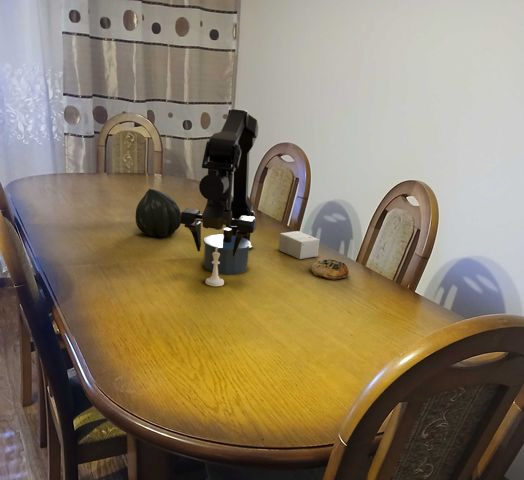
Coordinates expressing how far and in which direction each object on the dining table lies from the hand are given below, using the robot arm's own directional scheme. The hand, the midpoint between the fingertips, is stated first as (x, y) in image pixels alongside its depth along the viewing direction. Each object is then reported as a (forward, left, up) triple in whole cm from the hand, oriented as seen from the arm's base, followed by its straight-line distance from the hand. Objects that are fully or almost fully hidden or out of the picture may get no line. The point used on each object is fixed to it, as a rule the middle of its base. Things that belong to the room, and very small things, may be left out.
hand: (216, 253), depth 145 cm
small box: (-40, -17, -5) cm, 43 cm away
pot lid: (-10, -10, -1) cm, 14 cm away
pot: (-10, -10, -8) cm, 16 cm away
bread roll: (-35, +7, -8) cm, 37 cm away
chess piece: (0, 0, -8) cm, 8 cm away
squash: (-8, -45, -8) cm, 46 cm away
